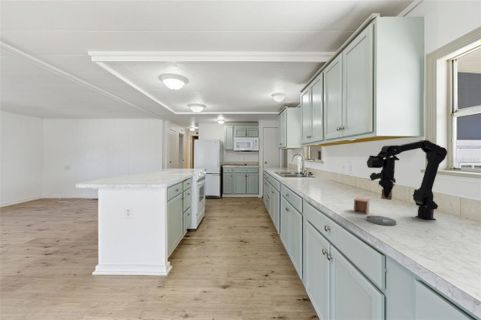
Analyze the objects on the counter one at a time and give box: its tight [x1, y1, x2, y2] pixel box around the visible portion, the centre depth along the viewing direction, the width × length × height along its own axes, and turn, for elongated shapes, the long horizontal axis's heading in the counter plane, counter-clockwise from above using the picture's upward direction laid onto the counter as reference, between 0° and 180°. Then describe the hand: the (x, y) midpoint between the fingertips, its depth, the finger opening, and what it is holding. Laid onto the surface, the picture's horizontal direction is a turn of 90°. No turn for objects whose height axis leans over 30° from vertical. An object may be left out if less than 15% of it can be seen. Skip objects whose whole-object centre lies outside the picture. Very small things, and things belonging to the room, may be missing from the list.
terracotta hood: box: [353, 197, 371, 215], centre depth 134 cm, size 7×7×8 cm
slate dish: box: [365, 215, 397, 227], centre depth 116 cm, size 13×13×1 cm
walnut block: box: [380, 188, 393, 201], centre depth 124 cm, size 4×4×5 cm
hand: (386, 196), depth 124 cm, fingers closed on walnut block, 4 cm apart
